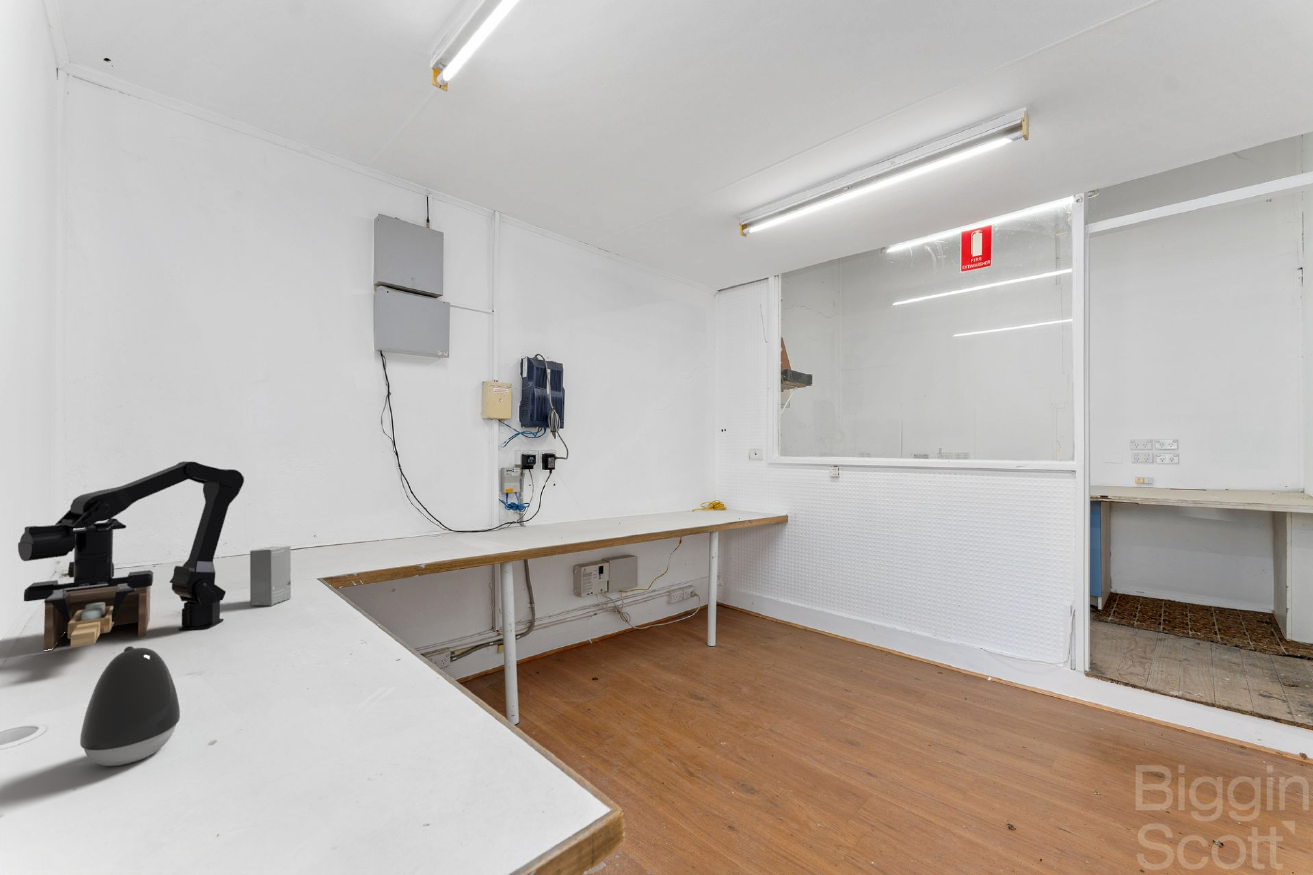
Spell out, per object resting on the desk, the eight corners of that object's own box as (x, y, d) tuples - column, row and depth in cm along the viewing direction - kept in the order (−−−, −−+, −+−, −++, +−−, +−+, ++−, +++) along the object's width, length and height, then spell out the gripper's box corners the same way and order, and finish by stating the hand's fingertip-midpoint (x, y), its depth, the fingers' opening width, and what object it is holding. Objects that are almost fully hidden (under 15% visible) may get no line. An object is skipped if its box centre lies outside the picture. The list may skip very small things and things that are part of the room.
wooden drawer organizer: (145, 635, 126) (146, 586, 127) (43, 652, 116) (45, 598, 116) (149, 619, 139) (150, 574, 139) (57, 633, 128) (59, 584, 128)
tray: (104, 642, 107) (104, 619, 107) (60, 649, 103) (60, 626, 103) (115, 618, 122) (116, 598, 122) (77, 624, 118) (78, 603, 119)
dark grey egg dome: (171, 729, 84) (174, 631, 84) (185, 752, 77) (188, 647, 78) (76, 758, 76) (79, 650, 76) (82, 787, 69) (85, 669, 70)
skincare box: (271, 606, 150) (272, 550, 150) (246, 606, 150) (247, 550, 150) (292, 598, 158) (293, 544, 159) (269, 598, 159) (270, 544, 159)
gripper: (155, 542, 127) (154, 608, 127) (36, 552, 115) (35, 625, 115) (152, 548, 119) (151, 619, 119) (24, 560, 107) (22, 639, 106)
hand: (92, 625), depth 115 cm, fingers closed on tray, 6 cm apart
